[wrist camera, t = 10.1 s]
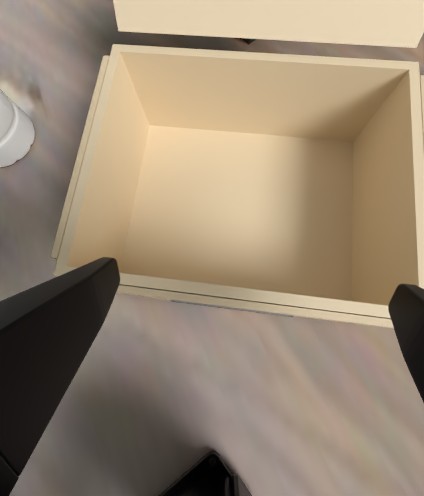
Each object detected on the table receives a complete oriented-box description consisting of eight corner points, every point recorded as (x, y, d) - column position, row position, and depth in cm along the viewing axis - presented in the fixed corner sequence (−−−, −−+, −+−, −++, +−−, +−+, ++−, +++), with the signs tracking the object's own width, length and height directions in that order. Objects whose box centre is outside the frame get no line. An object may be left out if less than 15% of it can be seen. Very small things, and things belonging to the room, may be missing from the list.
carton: (361, 326, 21) (443, 336, 13) (106, 293, 22) (42, 284, 15) (362, 141, 24) (426, 62, 17) (141, 123, 26) (106, 43, 18)
